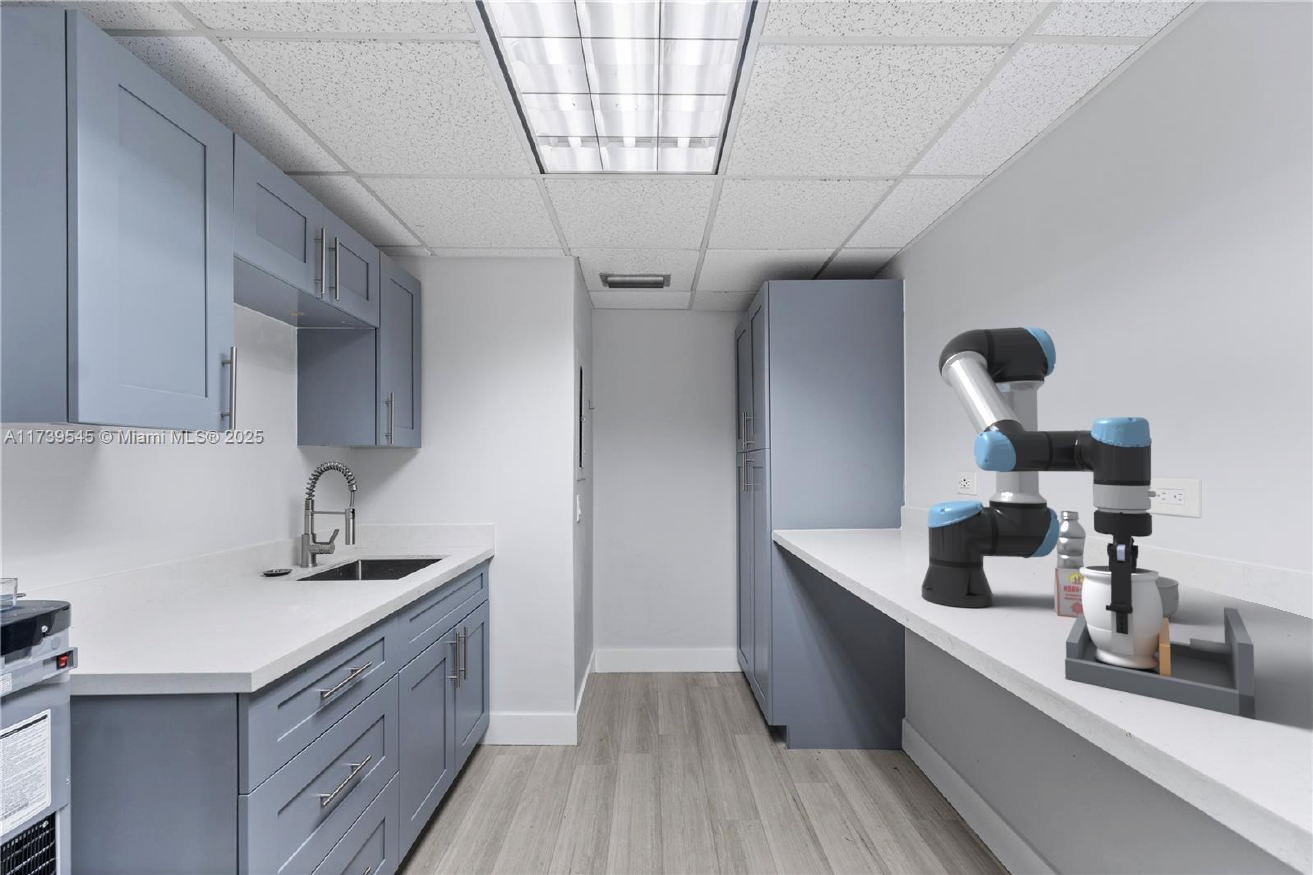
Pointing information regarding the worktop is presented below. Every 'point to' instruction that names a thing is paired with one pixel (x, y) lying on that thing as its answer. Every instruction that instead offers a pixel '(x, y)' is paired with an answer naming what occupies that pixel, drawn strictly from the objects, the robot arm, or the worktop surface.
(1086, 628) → the tray
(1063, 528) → the plastic bottle
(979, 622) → the worktop surface
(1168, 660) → the plate
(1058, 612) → the white red carton
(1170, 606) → the teacup
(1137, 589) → the jar
